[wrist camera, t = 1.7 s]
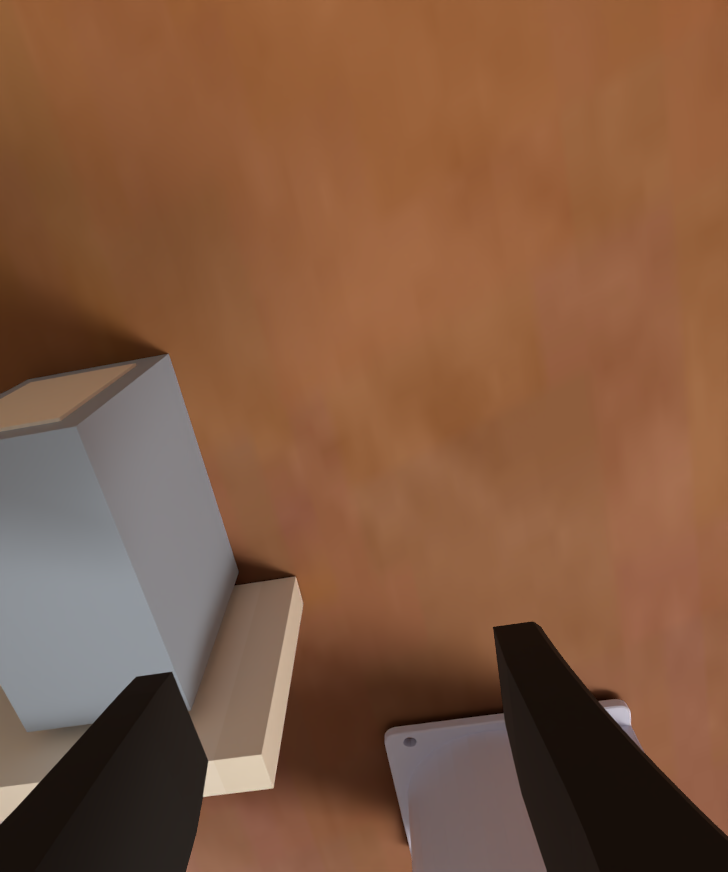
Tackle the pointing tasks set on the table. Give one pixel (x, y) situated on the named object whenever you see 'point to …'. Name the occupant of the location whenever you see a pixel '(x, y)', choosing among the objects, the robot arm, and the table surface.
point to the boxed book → (104, 542)
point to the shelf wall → (199, 702)
